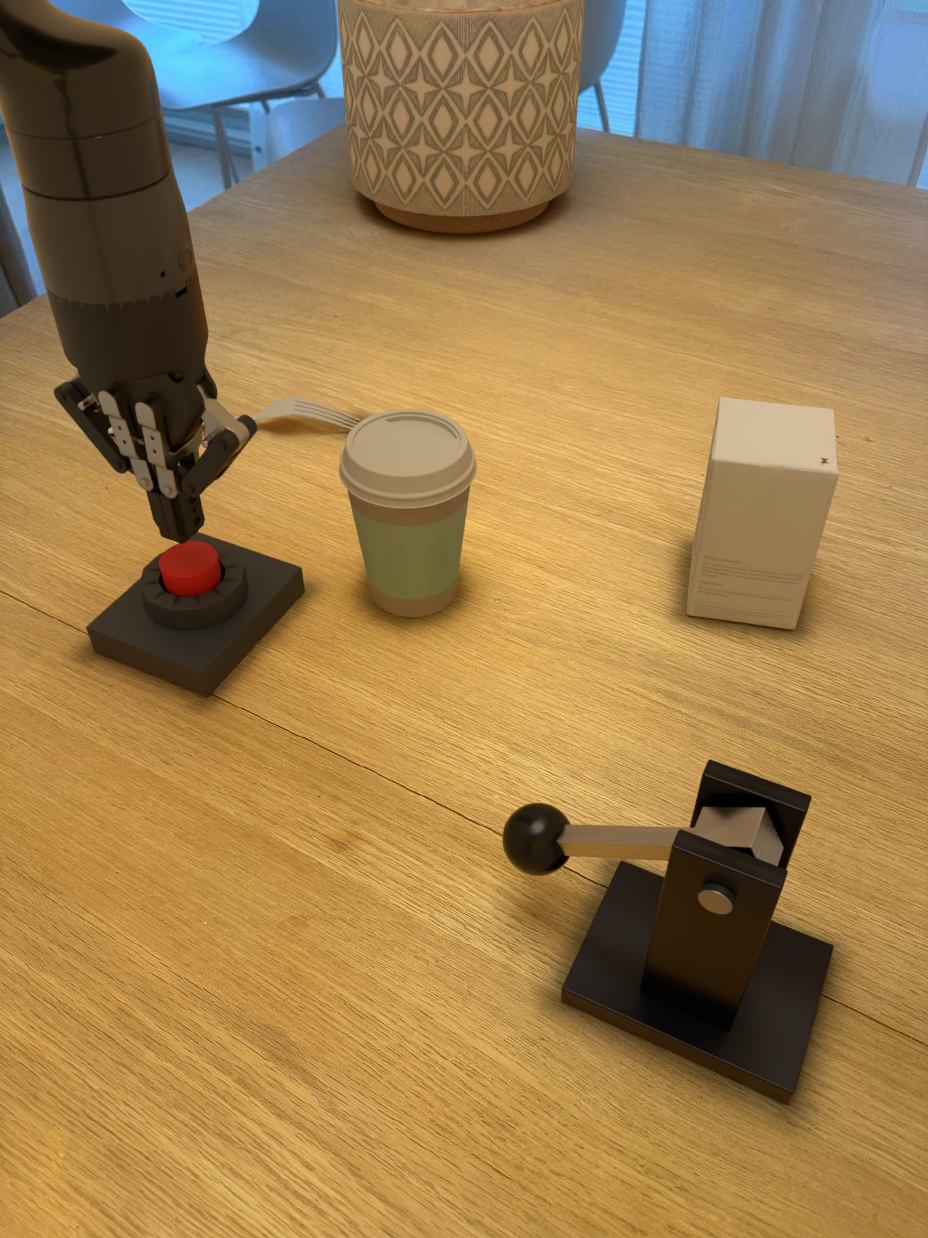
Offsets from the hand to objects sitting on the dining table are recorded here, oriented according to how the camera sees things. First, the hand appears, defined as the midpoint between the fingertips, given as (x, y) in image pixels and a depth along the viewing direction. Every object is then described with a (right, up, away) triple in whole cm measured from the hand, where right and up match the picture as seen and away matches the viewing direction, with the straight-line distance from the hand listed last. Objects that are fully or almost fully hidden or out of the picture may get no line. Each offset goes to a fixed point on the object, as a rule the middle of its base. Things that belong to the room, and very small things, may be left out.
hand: (182, 533), depth 65 cm
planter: (+17, +44, +58) cm, 74 cm away
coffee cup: (+14, -3, +7) cm, 16 cm away
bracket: (+29, -23, -14) cm, 39 cm away
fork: (-2, +10, +22) cm, 25 cm away
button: (0, -3, +2) cm, 4 cm away
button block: (0, -5, +5) cm, 7 cm away
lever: (+25, -17, -17) cm, 35 cm away
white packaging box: (+36, -3, +7) cm, 37 cm away
